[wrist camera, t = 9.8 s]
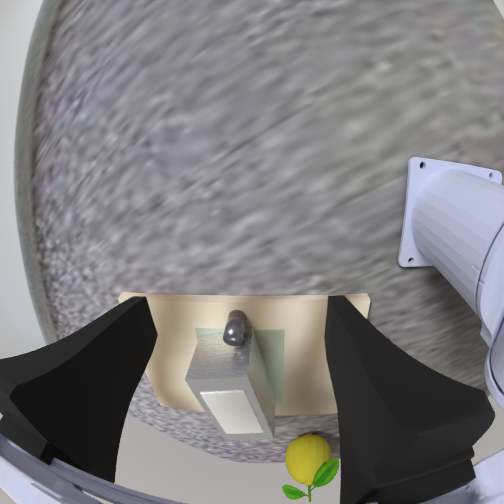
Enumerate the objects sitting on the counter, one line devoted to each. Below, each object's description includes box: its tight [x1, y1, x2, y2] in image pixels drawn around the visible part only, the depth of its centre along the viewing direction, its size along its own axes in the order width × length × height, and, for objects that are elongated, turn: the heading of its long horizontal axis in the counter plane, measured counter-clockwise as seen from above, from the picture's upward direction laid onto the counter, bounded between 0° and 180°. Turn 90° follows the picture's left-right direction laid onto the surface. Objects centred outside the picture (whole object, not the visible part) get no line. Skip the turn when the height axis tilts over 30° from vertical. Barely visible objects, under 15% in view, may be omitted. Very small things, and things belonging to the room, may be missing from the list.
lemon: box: [282, 433, 339, 502], centre depth 25 cm, size 7×6×10 cm
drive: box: [185, 328, 276, 440], centre depth 21 cm, size 4×9×5 cm, turn 14°
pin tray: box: [118, 292, 370, 416], centre depth 23 cm, size 20×15×4 cm
